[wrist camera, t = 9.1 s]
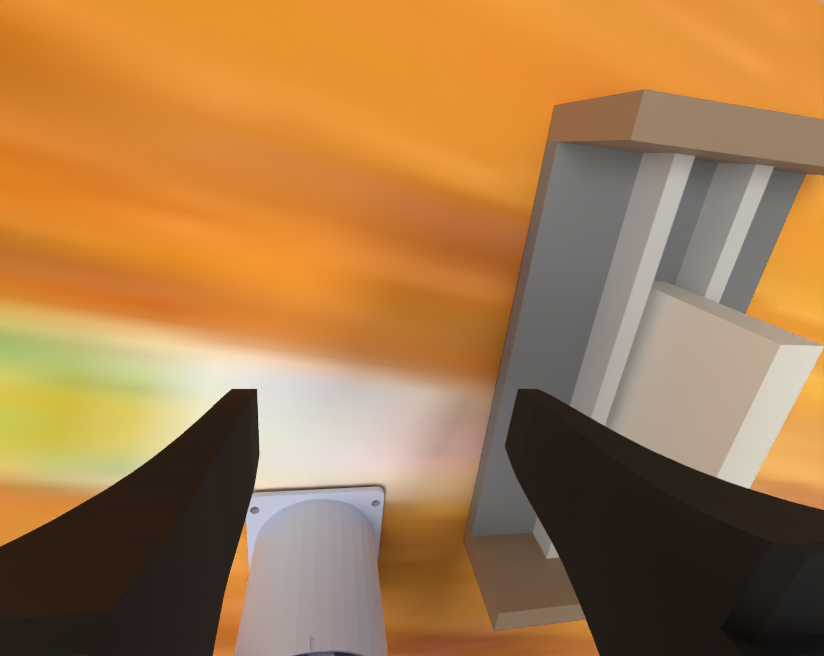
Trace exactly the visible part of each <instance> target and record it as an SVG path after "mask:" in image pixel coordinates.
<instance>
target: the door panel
mask: <svg viewBox="0 0 824 656" xmlns="http://www.w3.org/2000/svg"><path fill="white" fill-rule="evenodd" d="M823 348H824V346H823V345H821V344H818V343H816V342H813V341H811V340H808V339H806V338H803V337H801V336H799V335H796V334H794V333H791V332H789V331H786V330H784V329H781V328H779V327H776V326H774V325H771V324H769V323H766V322H764V321H761V320H759V319H757V318H754V317H752V316H749V315H747V314H744V313H742V312H739V311H737V310H734V309H732V308H729V307H727V306H724V305H722V304H719V303H717V302H715V301H712V300H710V299H707V298H705V297H702V296H700V295H697V294H695V293H692V292H690V291H687V290H685V289H682V288H680V287H678V286H675V285H673V284H670V283H668V282H659V281H653V284H652V287H651V289H650V292H649V295H648V298H647V301H646V304H645V307H644V310H643V313H642V316H641V319H640V322H639V325H638V328H637V331H636V334H635V337H634V340H633V343H632V346H631V349H630V352H629V355H628V358H627V361H626V364H625V367H624V370H623V373H622V376H621V379H620V382H619V385H618V388H617V391H616V394H615V397H614V400H613V403H612V406H611V409H610V412H609V415H608V418H607V421H606V424H605V426H606V427H608V428H609V429H611V430H613V431H615V432H617V433H618V434H620V435H622V436H624V437H626V438H628V439H630V440H632V441H634V442H636V443H638V444H640V445H642V446H644V447H646V448H648V449H650V450H652V451H654V452H656V453H658V454H661V455H663V456H665V457H667V458H670V459H672V460H674V461H676V462H679V463H681V464H683V465H686V466H688V467H691V468H693V469H695V470H698V471H700V472H703V473H706V474H709V475H711V476H714V477H717V478H719V479H722V480H725V481H727V482H730V483H733V484H736V485H739V486H742V487H745V488H748V489H749V488H750V486H751V484H752V482H753V480H754V478H755V477H756V475H757V473H758V471H759V469H760V467H761V465H762V463H763V461H764V460H765V458H766V456H767V454H768V452H769V450H770V448H771V446H772V444H773V442H774V441H775V439H776V437H777V435H778V433H779V431H780V429H781V427H782V425H783V423H784V422H785V420H786V418H787V416H788V414H789V412H790V410H791V408H792V406H793V405H794V403H795V401H796V399H797V397H798V395H799V393H800V391H801V389H802V387H803V386H804V384H805V382H806V380H807V378H808V376H809V374H810V372H811V370H812V369H813V367H814V365H815V363H816V361H817V359H818V357H819V355H820V353H821V351H822V350H823Z"/></svg>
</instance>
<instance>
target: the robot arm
mask: <svg viewBox="0 0 824 656" xmlns="http://www.w3.org/2000/svg"><path fill="white" fill-rule="evenodd" d="M505 449H506V452H507V455H508V457H509V460H510V463H511V466H512V468H513V471H514V473H515V476H516V478H517V480H518V482H519V484H520V486H521V487H522V489H523V491H524V493H525V495H526V497H527V498H528V500H529V502H530V504H531V506H532V508H533V509H534V511H535V513H536V515H537V517H538V518H539V520H540V522H541V524H542V526H543V527H544V529H545V531H546V533H547V535H548V536H549V538H550V540H551V542H552V544H553V545H554V547H555V549H556V551H557V553H558V555H559V557H560V559H561V561H562V563H563V566H564V568H565V570H566V573H567V575H568V577H569V580H570V582H571V584H572V587H573V589H574V591H575V593H576V596H577V598H578V601H579V603H580V606H581V608H582V611H583V613H584V616H585V618H586V621H587V623H588V626H589V628H590V631H591V633H592V636H593V638H594V641H595V644H596V646H597V649H598V652H599V655H600V656H824V510H821V509H817V508H813V507H809V506H805V505H801V504H797V503H794V502H790V501H787V500H783V499H780V498H777V497H773V496H770V495H767V494H764V493H760V492H757V491H754V490H751V489H748V488H745V487H742V486H739V485H736V484H733V483H730V482H727V481H725V480H722V479H719V478H717V477H714V476H711V475H709V474H706V473H703V472H700V471H698V470H695V469H693V468H691V467H688V466H686V465H683V464H681V463H679V462H676V461H674V460H672V459H670V458H667V457H665V456H663V455H661V454H658V453H656V452H654V451H652V450H650V449H648V448H646V447H644V446H642V445H640V444H638V443H636V442H634V441H632V440H630V439H628V438H626V437H624V436H622V435H620V434H618V433H617V432H615V431H613V430H611V429H609V428H608V427H606V426H604V425H602V424H600V423H599V422H597V421H595V420H593V419H592V418H590V417H588V416H586V415H585V414H583V413H581V412H580V411H578V410H576V409H574V408H573V407H571V406H569V405H568V404H566V403H564V402H562V401H561V400H559V399H557V398H555V397H553V396H551V395H550V394H548V393H546V392H544V391H541V390H539V389H518V391H517V395H516V399H515V404H514V408H513V412H512V416H511V421H510V425H509V429H508V434H507V438H506V442H505ZM258 460H259V430H258V404H257V389H231V390H230V391H229V392H228V393H227V394H226V395H224V396H223V397H222V398H221V399H220V400H219V401H218V402H217V403H216V404H215V405H214V406H213V407H212V408H211V409H209V410H208V411H207V412H206V413H205V414H204V415H203V416H202V417H201V418H200V419H199V420H198V421H196V422H195V423H194V424H193V425H192V426H191V427H190V428H188V429H187V430H186V431H185V432H184V433H183V434H182V435H181V436H179V437H178V438H177V439H176V440H174V441H173V442H172V443H171V444H169V445H168V446H167V447H166V448H164V449H163V450H162V451H161V452H159V453H158V454H157V455H156V456H154V457H153V458H152V459H150V460H149V461H148V462H146V463H145V464H144V465H142V466H141V467H139V468H138V469H136V470H135V471H134V472H132V473H131V474H129V475H128V476H126V477H125V478H123V479H121V480H120V481H118V482H117V483H115V484H114V485H112V486H111V487H109V488H108V489H106V490H104V491H103V492H101V493H99V494H98V495H96V496H94V497H92V498H91V499H89V500H87V501H86V502H84V503H82V504H80V505H79V506H77V507H75V508H73V509H72V510H70V511H68V512H66V513H65V514H63V515H61V516H60V517H58V518H56V519H54V520H52V521H50V522H49V523H47V524H45V525H43V526H41V527H39V528H37V529H35V530H33V531H31V532H29V533H27V534H25V535H23V536H21V537H19V538H17V539H15V540H13V541H11V542H9V543H7V544H5V545H3V546H1V547H0V656H213V650H214V645H215V639H216V634H217V629H218V624H219V618H220V613H221V608H222V603H223V598H224V593H225V589H226V585H227V581H228V577H229V573H230V570H231V566H232V563H233V559H234V556H235V553H236V549H237V546H238V542H239V539H240V536H241V532H242V529H243V525H244V522H245V518H246V526H247V544H248V561H249V577H248V583H247V588H246V593H245V599H244V604H243V609H242V615H241V620H240V625H239V631H238V636H237V642H236V647H235V652H234V656H388V651H387V643H386V634H385V625H384V617H383V608H382V600H381V591H380V582H379V574H378V565H377V563H378V554H379V544H380V535H381V525H382V516H383V507H384V497H385V496H384V490H383V489H382V488H381V487H358V488H337V489H317V490H296V491H276V492H256V493H253V490H254V485H255V479H256V473H257V466H258ZM375 500H378V501H377V502H373V501H375ZM252 507H257V508H256V509H255V508H252Z"/></svg>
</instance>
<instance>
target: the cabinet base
mask: <svg viewBox="0 0 824 656" xmlns="http://www.w3.org/2000/svg"><path fill="white" fill-rule="evenodd" d="M806 174H813V175H824V120H823V119H817V118H812V117H806V116H800V115H794V114H788V113H782V112H776V111H770V110H764V109H758V108H752V107H746V106H740V105H734V104H728V103H722V102H716V101H710V100H704V99H698V98H692V97H686V96H680V95H674V94H668V93H662V92H656V91H650V90H639V91H633V92H628V93H622V94H616V95H611V96H605V97H600V98H594V99H588V100H583V101H577V102H571V103H566V104H560V105H555V106H554V111H553V115H552V120H551V125H550V130H549V135H548V139H547V144H546V149H545V154H544V159H543V163H542V168H541V173H540V178H539V182H538V187H537V192H536V197H535V202H534V206H533V211H532V216H531V221H530V225H529V230H528V235H527V240H526V245H525V249H524V254H523V259H522V264H521V269H520V273H519V278H518V283H517V288H516V292H515V297H514V302H513V307H512V312H511V316H510V321H509V326H508V331H507V335H506V340H505V345H504V350H503V355H502V359H501V364H500V369H499V374H498V379H497V383H496V388H495V393H494V398H493V402H492V407H491V412H490V417H489V422H488V426H487V431H486V436H485V441H484V445H483V450H482V455H481V460H480V465H479V469H478V474H477V479H476V484H475V489H474V493H473V498H472V503H471V508H470V512H469V517H468V522H467V527H466V532H465V536H464V544H465V547H466V550H467V553H468V556H469V559H470V562H471V564H472V567H473V570H474V573H475V576H476V579H477V582H478V585H479V588H480V591H481V594H482V597H483V600H484V603H485V606H486V609H487V612H488V614H489V617H490V620H491V623H492V626H493V629H494V631H498V630H506V629H514V628H522V627H530V626H538V625H546V624H553V623H561V622H569V621H577V620H585V619H586V618H585V616H584V613H583V611H582V608H581V606H580V603H579V601H578V598H577V596H576V593H575V591H574V589H573V587H572V584H571V582H570V580H569V577H568V575H567V573H566V570H565V568H564V566H563V563H562V561H561V559H560V557H559V555H558V553H557V551H556V549H555V547H554V545H553V544H552V542H551V540H550V538H549V536H548V535H547V533H546V531H545V529H544V527H543V526H542V524H541V522H540V520H539V518H538V517H537V515H536V513H535V511H534V509H533V508H532V506H531V504H530V502H529V500H528V498H527V497H526V495H525V493H524V491H523V489H522V487H521V486H520V484H519V482H518V480H517V478H516V476H515V473H514V471H513V468H512V466H511V463H510V460H509V457H508V455H507V452H506V449H505V442H506V438H507V434H508V429H509V425H510V421H511V416H512V412H513V408H514V404H515V399H516V395H517V391H518V389H539V390H541V391H544V392H546V393H548V394H550V395H551V396H553V397H555V398H557V399H559V400H561V401H562V402H564V403H566V404H568V405H569V406H571V407H573V408H574V409H576V410H578V411H580V412H581V413H583V414H585V415H586V416H588V417H590V418H592V419H593V420H595V421H597V422H599V423H600V424H602V425H604V426H605V424H606V421H607V418H608V415H609V412H610V409H611V406H612V403H613V400H614V397H615V394H616V391H617V388H618V385H619V382H620V379H621V376H622V373H623V370H624V367H625V364H626V361H627V358H628V355H629V352H630V349H631V346H632V343H633V340H634V337H635V334H636V331H637V328H638V325H639V322H640V319H641V316H642V313H643V310H644V307H645V304H646V301H647V298H648V295H649V292H650V289H651V287H652V284H653V281H659V282H668V283H670V284H673V285H675V286H678V287H680V288H682V289H685V290H687V291H690V292H692V293H695V294H697V295H700V296H702V297H705V298H707V299H710V300H712V301H715V302H717V303H719V304H722V305H724V306H727V307H729V308H732V309H734V310H737V311H739V312H742V313H744V314H745V313H746V310H747V308H748V306H749V304H750V301H751V299H752V297H753V294H754V292H755V290H756V287H757V285H758V283H759V281H760V278H761V276H762V274H763V271H764V269H765V267H766V264H767V262H768V260H769V258H770V255H771V253H772V251H773V248H774V246H775V244H776V241H777V239H778V237H779V235H780V232H781V230H782V228H783V225H784V223H785V221H786V218H787V216H788V214H789V211H790V209H791V207H792V205H793V202H794V200H795V198H796V195H797V193H798V191H799V188H800V186H801V184H802V182H803V179H804V177H805V175H806Z"/></svg>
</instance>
